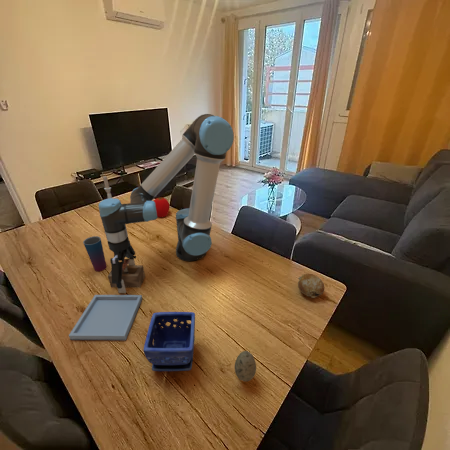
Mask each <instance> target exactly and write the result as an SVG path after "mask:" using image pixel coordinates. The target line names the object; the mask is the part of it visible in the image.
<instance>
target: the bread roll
mask: <svg viewBox="0 0 450 450" xmlns="http://www.w3.org/2000/svg"><path fill="white" fill-rule="evenodd" d="M297 288H298V290H299V291H300V292H301V293H302V294H304V295H306V296H307V297H310V298H311V299H312V298H313V299H315V298H317V297H319V296H322V295H324V292H325V284H324V282H323V280H322V279H321V278H320V277H319V276H317V275H315V274H313V273H305V274H301V276H299V277H298V282H297Z"/></svg>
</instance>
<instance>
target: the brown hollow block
mask: <svg viewBox="0 0 450 450" xmlns="http://www.w3.org/2000/svg"><path fill="white" fill-rule="evenodd" d="M127 269H128V273H129V274H124V270H122V279H123V281H124V285H125V288H141V286H142V284H143V282H144V279H145V278H146V275H145V270H144V265H141V264H140V265H139V264H137V265H136V264H135V265H127ZM107 279H108V282H109V284H110V285H109V286H110V287H111V288H117V285H116V284H112V274H111V271H110V272H109V274H108V275H107Z"/></svg>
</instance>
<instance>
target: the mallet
mask: <svg viewBox="0 0 450 450" xmlns="http://www.w3.org/2000/svg"><path fill="white" fill-rule="evenodd" d="M128 263H129V258H125V259H124V264H123V268H122V270H124V274H129V273H128V269H127V265H128Z"/></svg>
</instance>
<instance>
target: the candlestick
mask: <svg viewBox="0 0 450 450" xmlns="http://www.w3.org/2000/svg"><path fill="white" fill-rule="evenodd" d="M102 179H103V183H104V188H103V189H104V190H105V192H106V195H107V199H109V198H113V196H112V193H111V189H112V187H110V184H109V182H108V177H107V176H106V175H104V176H103V177H102Z"/></svg>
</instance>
